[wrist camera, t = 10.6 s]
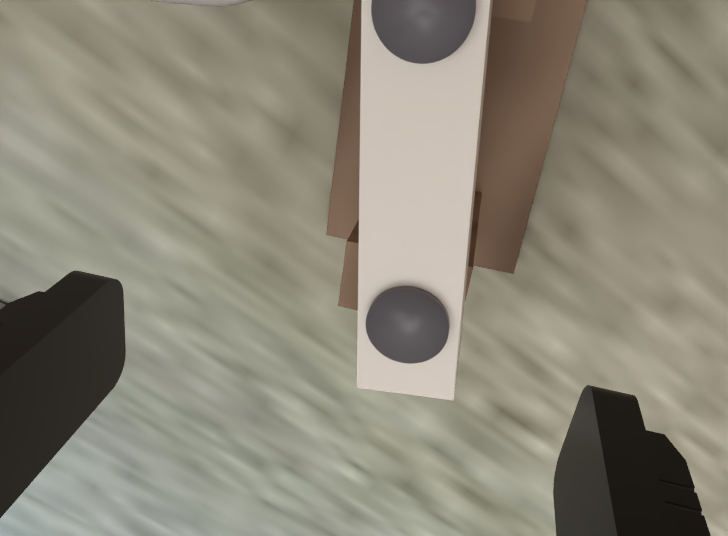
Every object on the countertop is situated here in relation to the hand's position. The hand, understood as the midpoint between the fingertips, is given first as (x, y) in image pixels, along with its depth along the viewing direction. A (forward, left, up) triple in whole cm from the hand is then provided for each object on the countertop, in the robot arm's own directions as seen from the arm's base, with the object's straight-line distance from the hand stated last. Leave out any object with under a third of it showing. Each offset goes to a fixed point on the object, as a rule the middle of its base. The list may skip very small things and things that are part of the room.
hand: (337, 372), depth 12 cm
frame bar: (0, 0, -14) cm, 14 cm away
